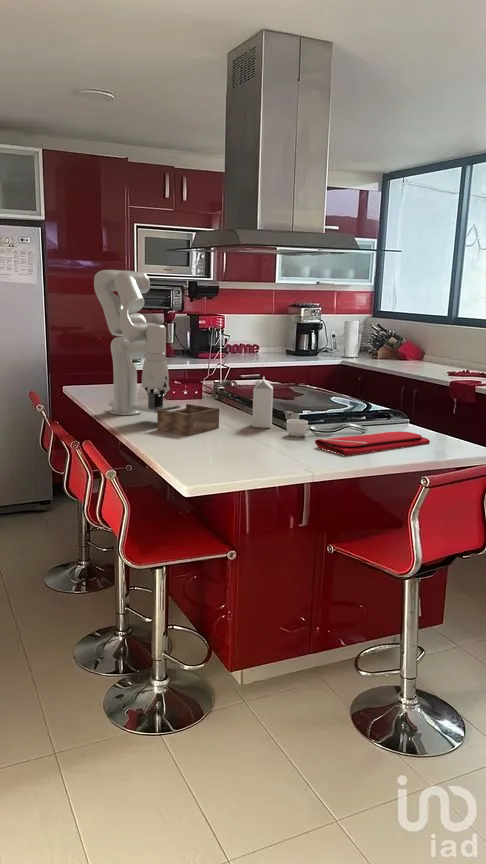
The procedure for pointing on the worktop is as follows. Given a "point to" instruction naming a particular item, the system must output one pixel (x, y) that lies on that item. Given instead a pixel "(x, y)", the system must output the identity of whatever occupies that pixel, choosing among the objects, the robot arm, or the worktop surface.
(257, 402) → the milk carton
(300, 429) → the teacup
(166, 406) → the cover plate
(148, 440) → the worktop surface
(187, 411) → the walnut box
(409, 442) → the dish drying mat
